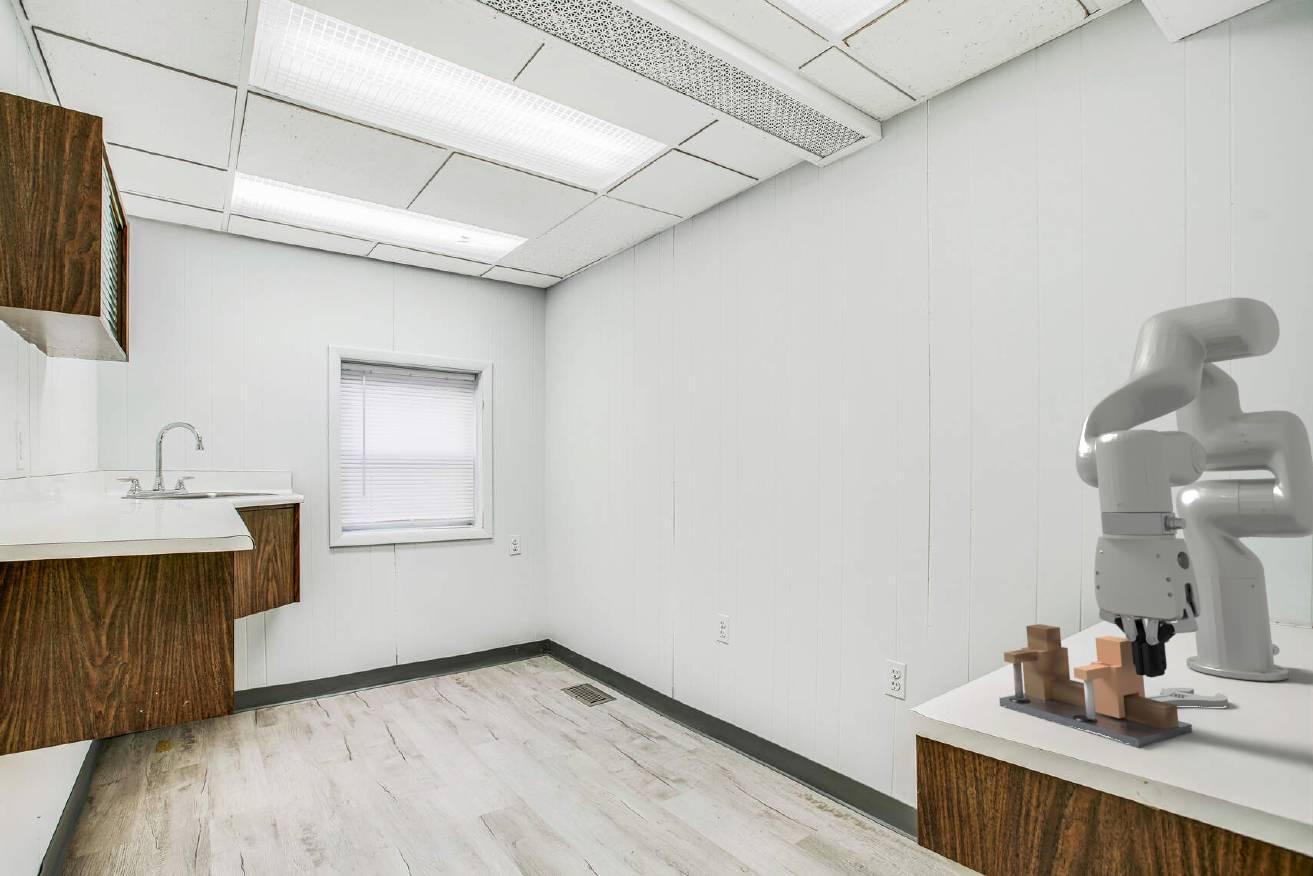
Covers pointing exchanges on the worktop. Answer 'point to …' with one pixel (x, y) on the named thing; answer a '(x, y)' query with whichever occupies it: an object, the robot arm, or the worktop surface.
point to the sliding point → (1110, 678)
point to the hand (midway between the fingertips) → (1150, 674)
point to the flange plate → (1094, 721)
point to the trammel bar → (1052, 680)
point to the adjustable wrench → (1189, 698)
